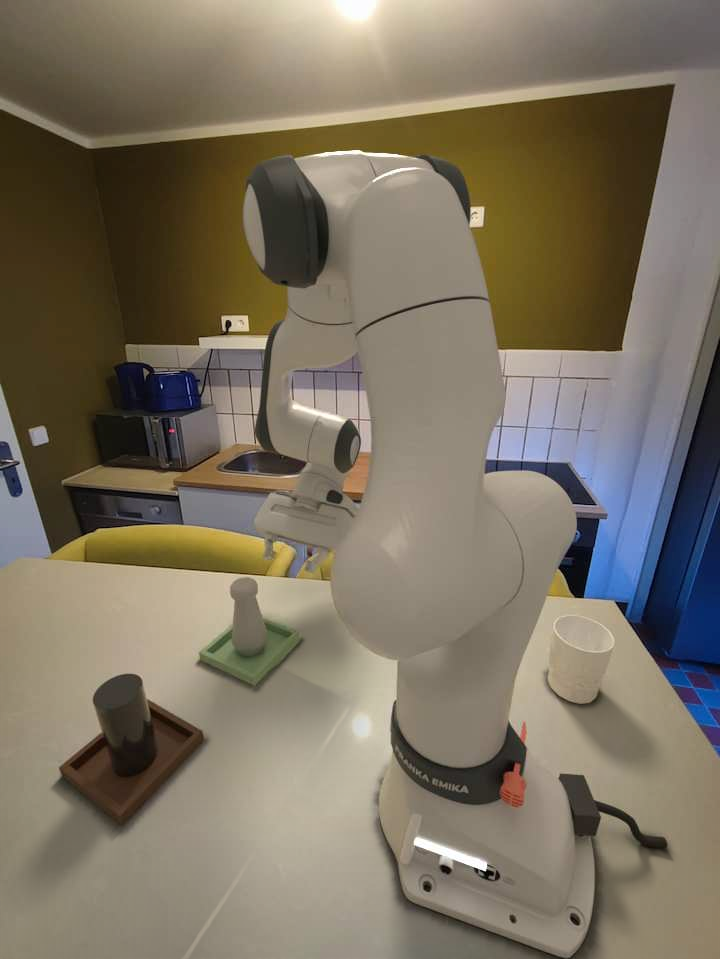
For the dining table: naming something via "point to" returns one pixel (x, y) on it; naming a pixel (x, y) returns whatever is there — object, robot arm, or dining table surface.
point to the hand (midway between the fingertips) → (287, 565)
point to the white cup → (578, 657)
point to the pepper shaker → (126, 724)
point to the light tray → (256, 666)
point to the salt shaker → (247, 618)
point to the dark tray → (130, 793)
